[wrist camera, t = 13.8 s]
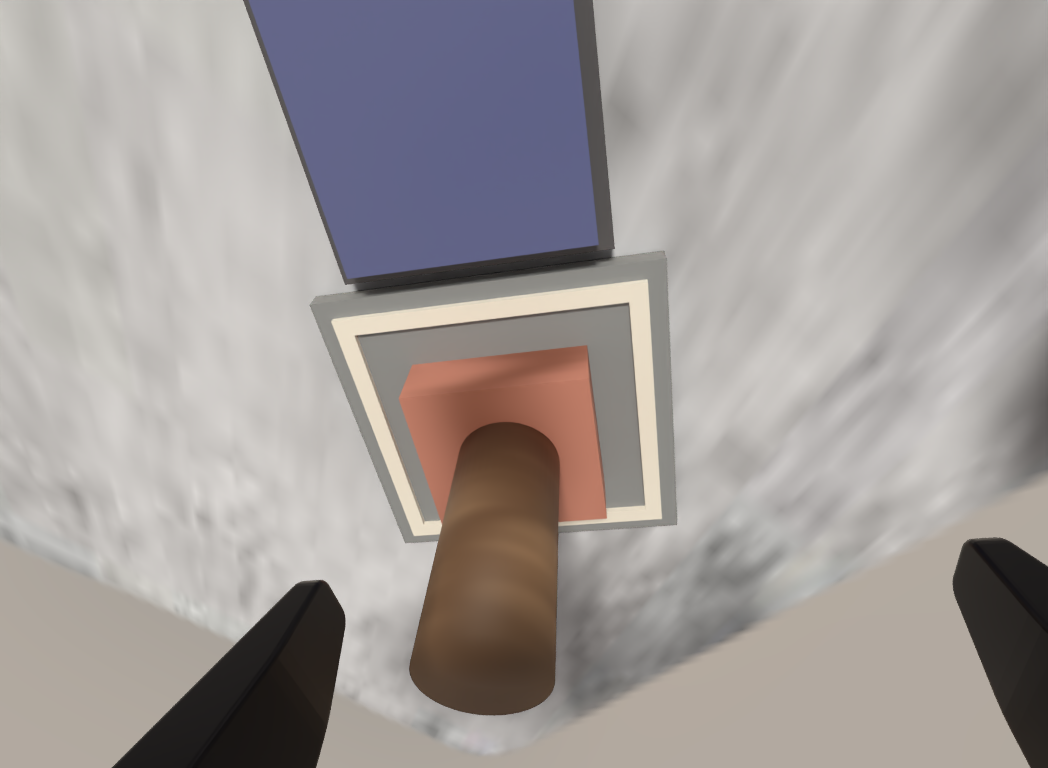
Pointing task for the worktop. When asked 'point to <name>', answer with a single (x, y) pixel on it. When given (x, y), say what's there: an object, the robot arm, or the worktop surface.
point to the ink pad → (443, 128)
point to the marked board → (514, 327)
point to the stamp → (500, 518)
